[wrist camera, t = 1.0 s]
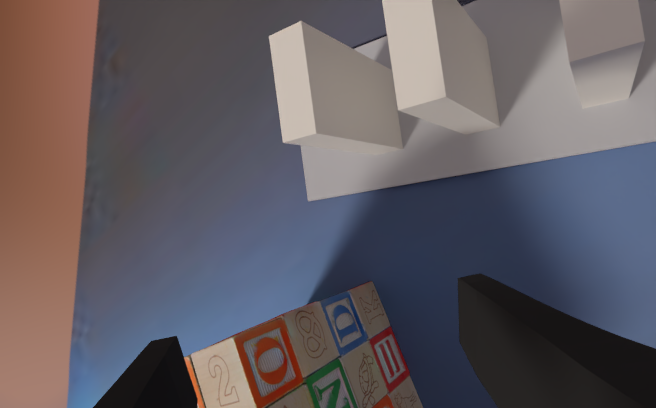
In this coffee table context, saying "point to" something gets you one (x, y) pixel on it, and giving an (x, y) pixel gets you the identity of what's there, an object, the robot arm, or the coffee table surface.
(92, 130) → the coffee table surface
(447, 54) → the domino
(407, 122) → the felt strip
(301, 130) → the domino
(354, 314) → the stack of blocks
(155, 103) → the coffee table surface
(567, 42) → the domino
